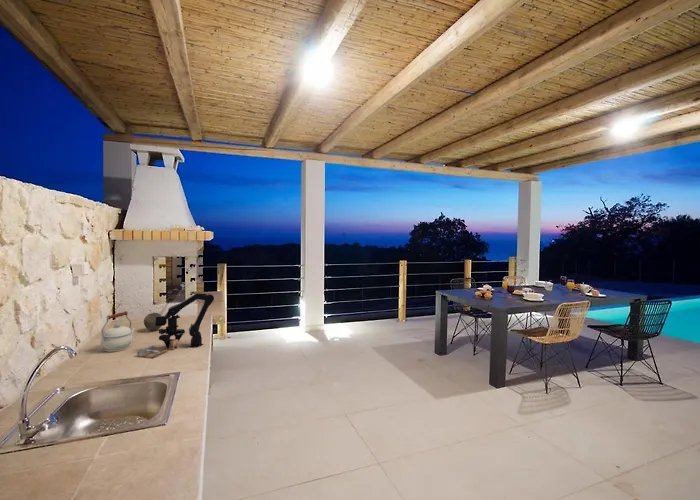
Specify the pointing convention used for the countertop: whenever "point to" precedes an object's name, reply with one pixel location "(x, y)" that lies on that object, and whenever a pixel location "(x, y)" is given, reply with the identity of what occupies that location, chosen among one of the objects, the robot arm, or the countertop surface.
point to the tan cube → (173, 344)
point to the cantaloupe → (151, 321)
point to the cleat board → (150, 352)
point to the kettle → (117, 335)
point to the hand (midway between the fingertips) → (172, 346)
